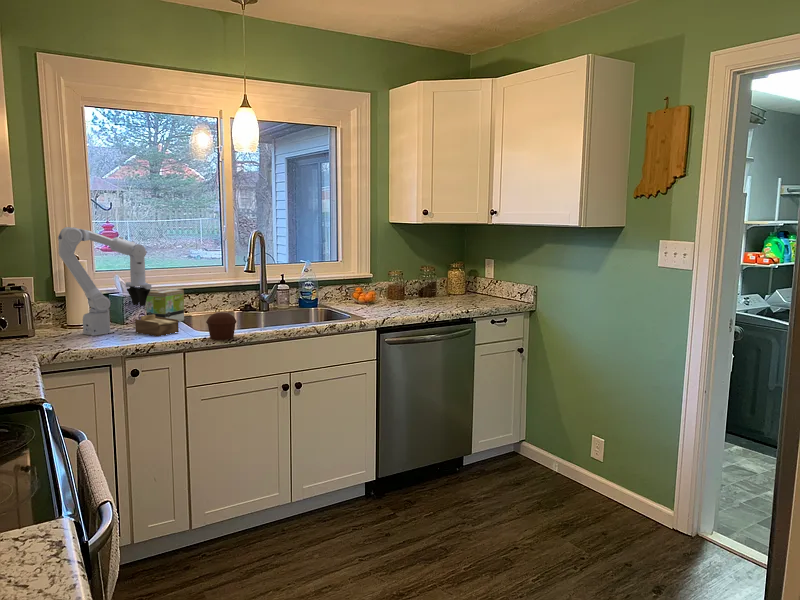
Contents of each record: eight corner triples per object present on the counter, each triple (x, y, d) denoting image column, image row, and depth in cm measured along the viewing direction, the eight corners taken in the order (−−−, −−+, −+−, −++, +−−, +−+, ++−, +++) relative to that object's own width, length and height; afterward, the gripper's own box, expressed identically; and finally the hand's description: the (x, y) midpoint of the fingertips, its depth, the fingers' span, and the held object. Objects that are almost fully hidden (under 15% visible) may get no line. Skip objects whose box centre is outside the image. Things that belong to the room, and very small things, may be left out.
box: (157, 336, 244) (157, 322, 243) (135, 332, 251) (135, 319, 251) (178, 332, 253) (178, 319, 252) (156, 329, 260) (156, 316, 259)
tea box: (166, 325, 270) (165, 292, 268) (146, 324, 272) (144, 291, 270) (185, 320, 284) (184, 288, 282) (165, 319, 286) (164, 288, 284)
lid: (159, 325, 244) (159, 319, 244) (137, 322, 251) (136, 316, 251) (176, 322, 251) (176, 317, 251) (154, 319, 259) (154, 313, 258)
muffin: (233, 334, 251) (232, 310, 250) (240, 339, 242) (239, 314, 241) (203, 336, 246) (202, 311, 244) (209, 341, 236) (208, 315, 235)
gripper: (157, 273, 255) (158, 305, 257) (135, 271, 263) (136, 302, 264) (142, 274, 249) (143, 307, 251) (120, 272, 257) (121, 304, 258)
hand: (139, 305), depth 257 cm, fingers open, 4 cm apart
